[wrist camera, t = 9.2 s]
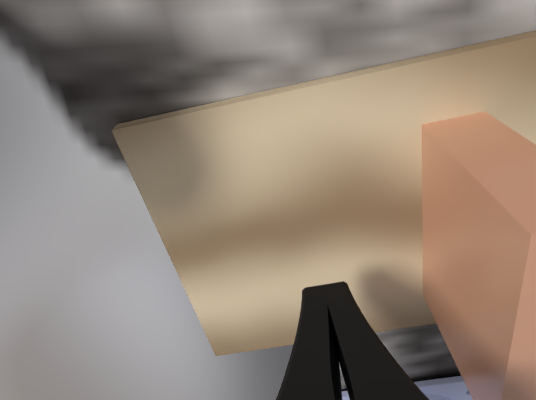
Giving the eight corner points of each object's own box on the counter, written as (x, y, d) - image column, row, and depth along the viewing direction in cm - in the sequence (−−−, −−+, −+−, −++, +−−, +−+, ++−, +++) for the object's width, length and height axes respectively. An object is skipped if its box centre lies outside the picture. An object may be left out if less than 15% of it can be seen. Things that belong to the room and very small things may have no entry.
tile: (470, 287, 16) (564, 434, 11) (423, 295, 16) (493, 442, 11) (485, 111, 12) (643, 216, 7) (421, 124, 12) (531, 234, 7)
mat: (598, 288, 17) (608, 298, 17) (217, 345, 19) (215, 355, 19) (694, -5, 11) (715, -4, 10) (117, 124, 13) (110, 130, 12)
